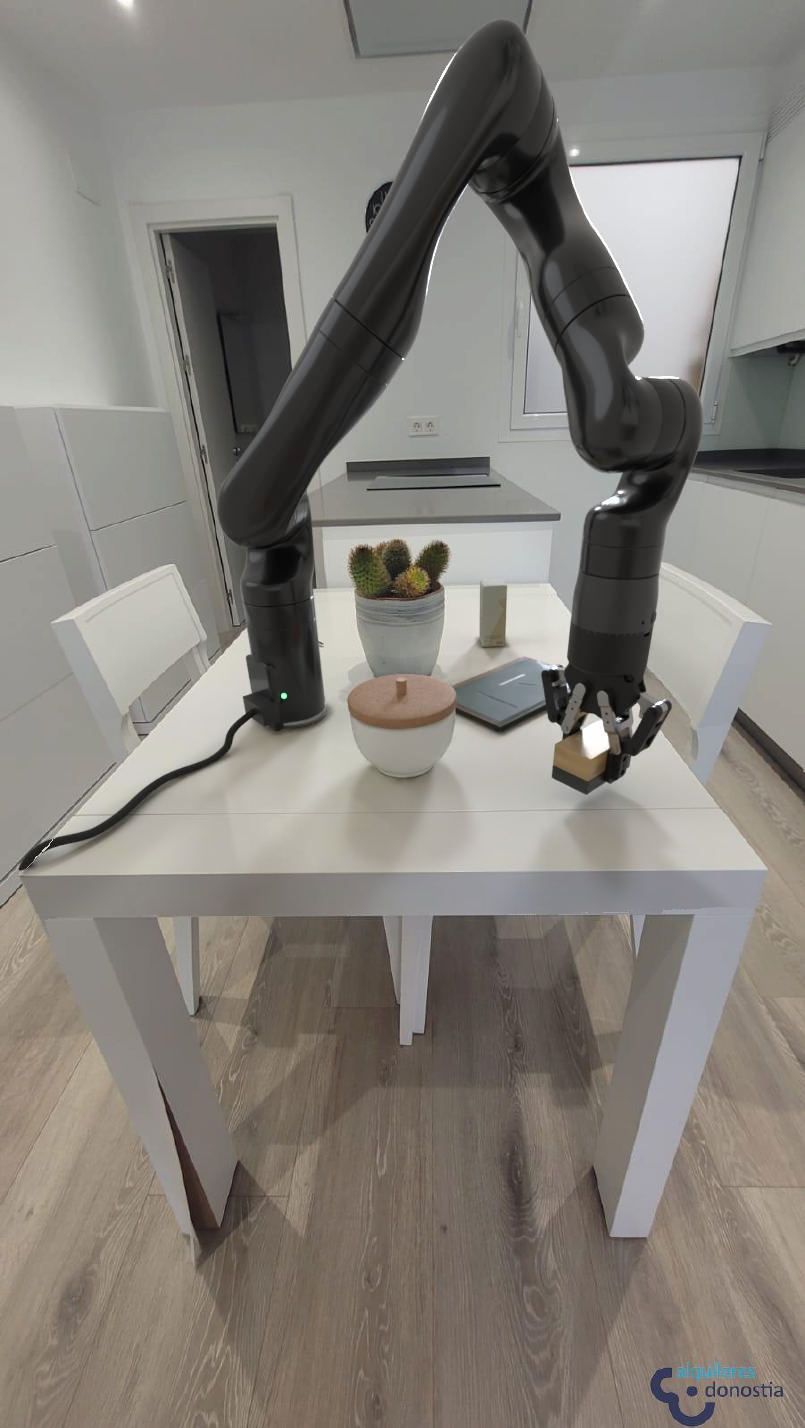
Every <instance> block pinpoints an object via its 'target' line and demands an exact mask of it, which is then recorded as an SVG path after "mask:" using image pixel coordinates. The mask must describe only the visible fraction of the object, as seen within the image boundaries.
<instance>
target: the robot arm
mask: <svg viewBox="0 0 805 1428" xmlns="http://www.w3.org/2000/svg"><path fill="white" fill-rule="evenodd" d="M407 148H408V149H407V150H406V153H405V156H404V157H403V160H402V161H401V163H400V166H399V169H398V170H397V173H396V175H395V177H394V179H393V181H392V184H391V186H390V188H389V190H388V191H387V192H388V193H387V195H386V197H385V198H384V200H383V203H382V204H381V206H380V208H379V210H378V211H377V214H376V216H375V218H374V219H373V221H372V223H371V225H370V227H369V229H368V231H367V233H366V235H365V237H364V238H363V240H362V242H361V244H360V246H359V248H358V250H357V252H356V254H355V255H354V257H353V259H352V261H351V263H350V265H349V267H348V268H347V270H346V272H345V273H344V275H343V277H342V279H341V280H340V281H339V284H338V285H337V286H336V288H335V289H334V291H333V293H332V296H331V297H330V298H329V300H328V302H327V303H326V306H325V307H324V309H323V311H322V313H321V314H320V316H319V318H318V320H317V321H316V323H315V325H314V327H313V330H312V332H311V334H310V335H309V337H308V338H307V339H308V340H307V341H306V344H305V345H304V347H303V349H302V351H301V353H300V355H299V356H298V358H297V359H296V361H295V364H294V366H293V368H292V369H291V372H290V373H289V375H288V377H287V379H286V381H285V382H284V384H283V387H282V389H281V391H280V393H279V395H278V398H277V399H276V402H275V404H274V406H273V408H272V409H271V412H270V413H269V414H268V417H267V418H266V420H265V422H264V423H263V425H262V426H261V428H260V429H259V431H258V433H257V434H256V436H255V437H254V438H253V440H252V441H251V442H250V443H249V446H248V447H247V448H246V449H245V451H244V452H243V454H242V455H241V457H240V458H239V459H238V461H237V462H236V463H235V465H233V468H232V469H231V470H230V472H229V473H228V474H227V476H226V477H225V479H224V480H223V482H222V484H221V486H220V487H219V490H218V494H217V499H216V516H217V520H218V524H219V526H220V528H221V531H222V532H223V534H224V535H225V537H226V538H227V539H228V540H229V541H230V542H231V543H232V544H234V545H236V546H238V547H240V548H242V549H245V554H246V555H245V556H246V557H245V565H244V569H243V572H242V574H241V577H240V580H239V588H240V597H241V601H242V606H243V612H244V613H243V614H244V618H245V619H244V620H245V624H246V625H245V626H246V631H247V638H248V643H249V650H250V653H249V654H246V656H245V662H246V667H247V673H248V680H249V686H250V692H251V693H249V694H246V695H243V696H242V701H243V707H244V712H245V713H244V714H243V715H242V716H240V717H239V718H238V719H237V720H236V721H234V723H233V724H232V725H231V726H230V727H229V729H228V730H227V732H226V734H225V739H224V742H223V745H222V747H220V748H219V749H218V750H217V751H216V752H215V753H213V754H212V755H210V756H208V757H207V758H205V759H203V760H200V761H197V762H195V763H192V764H189V765H185V766H182V767H179V768H176V769H174V770H172V771H169V772H167V773H165V774H163V775H161V776H159V777H158V778H156V779H155V780H153V781H151V782H150V783H149V784H148V785H146V786H145V787H143V788H142V789H141V790H139V792H138V793H136V794H135V795H134V796H133V797H132V798H131V799H130V800H129V801H128V802H127V803H126V804H125V805H123V807H122V808H120V809H119V810H118V811H116V812H115V813H114V814H113V815H112V816H110V817H109V818H106V820H104V821H102V822H101V823H99V824H98V825H96V826H93V827H92V828H89V829H86V830H83V831H80V832H79V831H78V832H74V833H70V834H65V835H60V836H56V837H53V838H50V839H47V840H44V841H42V842H40V843H38V844H37V845H36V846H35V847H33V848H32V849H30V851H28V853H26V855H25V856H24V858H22V861H21V862H20V864H19V867H18V871H21V872H22V871H26V870H27V869H29V868H31V866H33V864H34V863H32V862H33V861H34V859H35V857H36V856H38V855H39V854H40V853H41V852H42V850H43V849H44V848H45V847H47V846H48V845H49V843H50V842H51V841H52V839H53V841H52V842H51V843H50V846H49V847H48V848H47V849H46V850H45V851H44V852H42V854H43V853H46V852H47V851H50V850H52V849H55V848H58V847H61V846H65V845H70V844H76V843H80V842H84V841H87V840H90V839H92V838H95V837H97V836H100V835H101V834H103V833H105V832H106V831H108V830H109V829H111V828H113V827H114V826H116V825H117V824H118V823H120V822H121V821H122V820H124V818H126V817H127V816H128V815H129V814H131V812H132V811H134V810H135V809H136V808H137V807H138V806H139V805H140V804H141V802H144V800H145V799H147V797H149V796H150V795H151V794H152V793H153V792H154V791H156V790H157V789H158V788H160V787H162V786H163V785H165V784H166V783H168V782H170V781H172V780H175V779H177V778H180V777H182V776H185V775H188V774H191V773H194V772H196V771H199V770H202V769H203V768H206V767H209V766H210V765H212V764H215V763H216V762H218V761H219V760H221V759H222V758H223V757H225V755H226V754H227V753H228V752H229V751H230V750H231V748H232V745H233V742H234V737H235V735H236V733H237V732H238V730H239V729H240V728H241V727H242V726H244V725H245V724H246V723H247V722H248V721H250V720H251V719H252V720H254V721H255V722H257V723H258V724H260V725H261V726H263V727H264V728H266V727H269V728H270V729H272V731H275V732H280V731H283V730H291V729H293V730H294V729H300V728H304V727H309V726H312V725H313V724H316V723H318V722H319V721H321V720H322V719H324V717H325V716H326V714H327V712H328V708H327V701H326V695H325V689H324V688H325V687H324V678H323V667H322V660H321V659H322V658H321V650H320V641H319V632H318V622H317V612H316V604H315V594H314V585H313V582H314V575H315V568H316V567H315V566H316V563H315V560H316V559H315V545H314V544H315V542H314V530H313V519H312V510H311V503H310V498H309V494H308V492H307V490H308V488H309V486H310V485H311V483H312V481H313V480H314V477H315V476H316V474H317V472H318V471H319V469H320V468H321V466H322V465H323V463H324V461H325V460H326V459H327V458H328V456H329V455H330V454H331V453H332V452H333V450H334V449H335V448H336V447H337V446H338V445H339V444H340V443H341V442H342V441H343V440H344V439H345V437H347V436H348V435H349V433H350V432H351V431H353V429H354V428H355V427H356V426H357V425H358V424H359V423H360V422H361V420H363V418H364V417H365V416H366V415H367V414H368V412H369V411H370V410H371V409H372V408H373V407H374V405H375V404H376V403H377V401H378V400H379V399H380V398H381V396H382V395H383V394H384V392H385V390H387V388H388V386H389V385H390V383H391V381H392V380H393V379H394V378H395V375H396V374H397V373H398V371H399V369H400V368H401V366H402V365H403V363H404V362H405V359H406V358H407V357H408V356H409V354H410V351H411V350H412V348H413V347H414V344H415V342H416V339H417V337H418V333H419V330H420V327H421V323H422V319H423V314H424V309H425V305H426V301H427V296H428V295H427V294H428V289H429V284H430V279H431V274H432V273H431V272H432V267H433V263H434V258H435V254H436V252H437V248H438V245H439V243H440V239H441V236H442V234H443V231H444V229H445V227H446V225H447V222H448V220H449V218H450V216H451V215H452V213H453V211H454V209H455V208H456V206H457V204H458V203H459V201H460V198H461V197H462V195H463V194H464V191H465V190H466V188H467V186H468V187H469V189H470V190H471V191H472V192H473V193H474V194H475V195H476V196H478V197H479V198H480V199H481V200H482V201H483V202H484V203H485V205H486V206H487V207H488V209H489V210H490V211H491V213H492V214H493V215H494V216H495V218H496V219H497V220H498V222H499V223H500V224H501V225H502V227H503V228H504V230H505V232H507V234H508V236H509V237H510V239H511V240H512V242H513V244H514V246H515V248H516V249H517V251H518V254H519V256H520V259H521V261H522V263H523V267H524V270H525V274H526V278H527V284H528V288H529V292H530V297H531V300H532V303H533V306H534V309H535V312H536V315H537V317H538V319H539V322H540V325H541V327H542V329H543V332H544V333H545V336H546V338H547V341H548V343H549V345H550V348H551V350H552V352H553V354H554V355H555V356H554V357H555V358H556V361H557V364H559V366H560V369H561V376H562V388H563V394H564V400H565V409H566V417H567V425H568V431H569V436H570V441H571V443H572V446H573V447H574V450H575V451H576V452H577V454H578V456H579V457H580V458H581V460H582V461H583V462H584V463H585V464H586V465H587V466H588V467H589V468H591V469H592V470H593V471H595V472H598V473H601V474H607V475H608V474H621V476H620V478H619V481H618V483H617V485H616V488H615V491H614V492H613V494H611V496H609V497H608V498H606V499H604V500H602V501H600V502H598V503H596V504H595V505H593V506H591V507H590V508H589V510H587V512H586V515H585V517H584V522H583V527H582V535H581V547H580V556H579V563H578V565H579V566H578V572H577V576H576V582H575V585H574V589H573V595H572V605H571V614H570V622H569V633H568V642H567V652H566V658H567V661H568V663H567V665H566V666H565V667H564V666H563V665H562V664H559V663H558V664H555V665H553V667H550V668H548V669H546V670H543V671H542V673H541V676H542V683H543V689H544V695H545V702H546V708H547V709H546V714H547V719H548V721H549V722H550V723H552V724H558V726H559V727H560V730H561V732H562V738H561V740H563V739H565V738H567V737H569V736H571V735H573V734H574V733H576V732H578V731H580V730H582V729H583V728H582V727H583V726H584V725H585V722H586V720H587V718H588V716H589V714H592V715H595V716H596V717H598V718H599V719H600V720H601V721H602V722H603V728H604V732H605V733H607V734H608V741H609V747H610V751H609V752H608V753H607V759H606V766H605V771H604V772H605V773H604V781H605V783H608V784H613V783H615V782H617V781H618V780H620V779H621V778H623V777H624V776H625V775H626V774H627V769H628V768H627V762H628V756H629V755H630V756H631V757H636V756H638V755H639V754H640V753H641V752H644V750H647V749H649V748H650V747H651V746H652V744H653V742H654V740H655V739H656V737H657V735H658V734H659V732H660V730H661V729H662V726H663V724H664V723H665V721H666V719H667V717H668V716H669V714H670V712H671V711H672V709H673V705H672V702H671V701H670V700H668V699H665V698H664V699H661V700H659V699H657V698H656V697H654V696H652V695H651V694H649V693H648V692H647V687H646V684H645V679H644V678H645V677H644V676H645V672H646V669H647V667H648V662H649V656H650V650H651V644H652V637H653V631H654V626H655V622H656V619H657V609H658V608H657V607H658V602H659V601H658V600H659V583H660V582H659V581H660V572H661V567H662V559H663V555H664V548H665V542H666V532H667V527H668V524H669V521H670V519H671V517H672V515H673V513H674V511H675V508H676V506H677V504H678V503H679V500H680V497H681V495H682V492H683V490H684V487H685V485H686V483H687V480H688V478H689V476H690V474H691V470H692V468H693V466H694V463H695V461H696V457H697V455H698V452H699V449H700V445H701V441H702V436H703V431H704V409H703V403H702V400H701V397H700V395H699V392H698V390H697V389H696V387H695V386H694V385H692V384H691V382H689V381H687V380H686V379H683V378H680V377H676V376H635V374H634V373H633V371H632V370H631V369H630V367H629V365H631V363H632V362H633V361H634V360H635V358H636V357H637V356H638V355H639V353H640V351H641V349H642V347H643V345H644V341H645V326H644V322H643V318H642V315H641V313H640V310H639V308H638V306H637V304H636V303H635V300H634V298H633V294H632V293H631V291H630V289H629V287H628V284H627V282H626V281H625V278H624V277H623V274H622V272H621V270H620V268H619V266H618V263H617V262H616V260H615V259H614V257H613V255H612V253H611V251H610V249H609V248H608V246H607V244H606V243H605V241H604V239H603V238H602V235H600V233H599V231H598V230H597V229H596V227H595V226H594V225H593V223H592V221H591V220H590V218H589V216H588V215H587V213H586V211H585V209H584V207H583V204H582V202H581V200H580V197H579V194H578V192H577V190H576V189H577V188H576V187H575V183H574V180H573V177H572V173H571V169H570V164H569V161H568V156H567V152H566V147H565V143H564V139H563V134H562V129H561V125H560V121H559V115H558V109H557V105H556V102H555V99H554V96H553V93H552V91H551V89H550V86H549V84H548V82H547V80H546V77H545V75H544V72H543V70H542V68H541V65H540V63H539V60H538V58H537V56H536V53H535V51H534V49H533V47H532V45H531V43H530V40H529V39H528V37H527V35H526V33H525V32H524V30H523V29H522V27H520V25H519V24H518V23H516V21H514V20H511V19H509V18H506V17H505V18H504V17H501V18H494V19H492V20H489V21H487V22H486V23H484V24H482V25H481V26H480V27H478V28H477V29H476V30H475V31H473V33H471V34H470V35H469V36H468V38H467V39H466V40H465V41H464V42H463V44H461V46H460V47H459V48H458V50H457V51H456V53H454V56H453V57H452V59H451V60H450V61H449V63H448V65H447V66H446V68H445V70H444V71H443V73H442V75H441V77H440V79H439V81H438V83H437V85H436V86H435V90H433V93H432V95H431V97H430V99H429V102H428V103H427V106H426V108H425V110H424V112H423V115H422V117H421V119H420V121H419V123H418V126H417V127H416V131H415V132H414V136H413V137H412V139H411V142H410V144H409V145H408V147H407ZM566 684H568V686H569V688H570V690H571V693H572V696H571V697H569V698H570V699H569V698H568V691H567V685H566ZM557 702H558V703H557ZM637 704H638V706H639V712H638V713H639V714H638V718H639V719H640V721H639V723H638V726H637V727H636V728H635V731H634V732H633V724H634V714H633V707H634V706H635V705H637ZM632 733H634V735H633V734H632ZM626 768H627V769H626ZM54 838H55V839H54ZM39 857H40V856H38V857H37V858H36V859H35V861H36V860H37V859H39ZM35 861H34V862H35ZM31 863H32V864H31ZM30 864H31V865H30ZM29 865H30V866H29ZM28 866H29V867H28ZM27 867H28V868H27ZM26 868H27V869H26ZM25 869H26V870H25Z"/></svg>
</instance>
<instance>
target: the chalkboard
mask: <svg viewBox="0 0 805 1428" xmlns="http://www.w3.org/2000/svg"><path fill="white" fill-rule="evenodd" d="M553 666H554V665H553V664H550V663H547V662H543V661H541V660H537V659H534V658H531V657H529V656H524V655H523V656H521V657H519V658H516V659H514V660H511V661H509V662H507V663H505V664H504V663H503V664H502V665H499V666H497V667H495V668H492V669H489V670H486V671H485V672H483V673H480V674H477V675H476V676H473V677H470V678H468V679H465V680H463V681H460V682H458V683H455V684H452V685H451V686H452V687H453V689H454V690H455V692H456V695H457V704H456V708H455V714H459V715H460V716H463V717H465V718H467V719H469V720H472V721H474V722H476V723H479V724H481V725H483V726H485V727H488V728H489V729H492V730H495V731H496V732H499V733H501V732H503V731H506V730H507V729H509V728H511V727H513V726H515V725H517V724H520V723H521V722H523V721H525V720H527V719H529V718H531V717H534V716H536V715H537V714H539V713H542V712H543V711H545V710H547V708H546V702H545V695H544V689H543V683H542V676H541V673H542V671H543V670H546V669H548V668H550V667H553ZM566 685H567V691H568V698H572V693H571V690H570V688H569V686H568V684H566ZM557 704H558V702H557Z"/></svg>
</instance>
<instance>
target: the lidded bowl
mask: <svg viewBox="0 0 805 1428" xmlns="http://www.w3.org/2000/svg"><path fill="white" fill-rule="evenodd" d="M452 686H453V685H451V684H449V683H448V682H446V681H445V680H442V679H440V678H438V677H433V676H430V675H425V674H417V673H397V674H388V675H382V676H378V677H377V676H376V677H375V678H371V679H368V680H365V681H364V682H361V683H360V684H358V685H357V686H355V687H353V688H352V690H351V691H350V692H349V694H348V696H347V699H346V701H347V708H348V712H349V719H350V726H351V731H352V736H353V739H354V741H355V744H356V746H357V748H358V750H359V752H360V753H361V755H362V756H363V757H364V758H365V760H366V761H367V762H369V763H370V764H371V765H372V766H374V767H376V769H377V771H379V772H380V773H381V774H383V775H385V776H388V777H392V778H396V779H409V778H414V777H419V776H422V775H425V774H426V773H428V772H429V771H430V770H431V769H432V768H433V767H434V765H436V763H438V762H439V761H440V760H441V759H442V758H443V757H444V755H445V754H446V753H447V751H448V749H449V746H450V745H451V743H452V739H453V736H454V731H455V726H456V725H455V724H456V712H455V708H456V704H457V695H456V692H455V690H454V689H453V687H452Z"/></svg>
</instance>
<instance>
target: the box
mask: <svg viewBox="0 0 805 1428" xmlns="http://www.w3.org/2000/svg"><path fill="white" fill-rule="evenodd" d="M507 597H508V583H506V581H505V580H504V579H502V578H498V579H481V580H479V634H478V636H479V637H478V638H479V642H480V645H481V647H505V646H506V635H507V634H506V632H507V631H506V629H507V628H506V627H507V602H508V598H507Z"/></svg>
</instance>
